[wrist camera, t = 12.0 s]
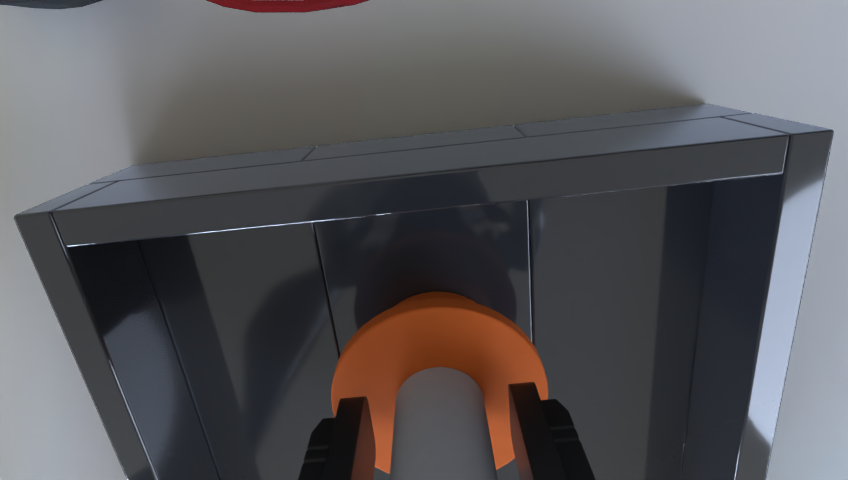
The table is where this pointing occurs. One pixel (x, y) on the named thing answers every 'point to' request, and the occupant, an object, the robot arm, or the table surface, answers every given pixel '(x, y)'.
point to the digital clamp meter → (255, 3)
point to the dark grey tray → (442, 189)
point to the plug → (438, 386)
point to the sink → (455, 273)
